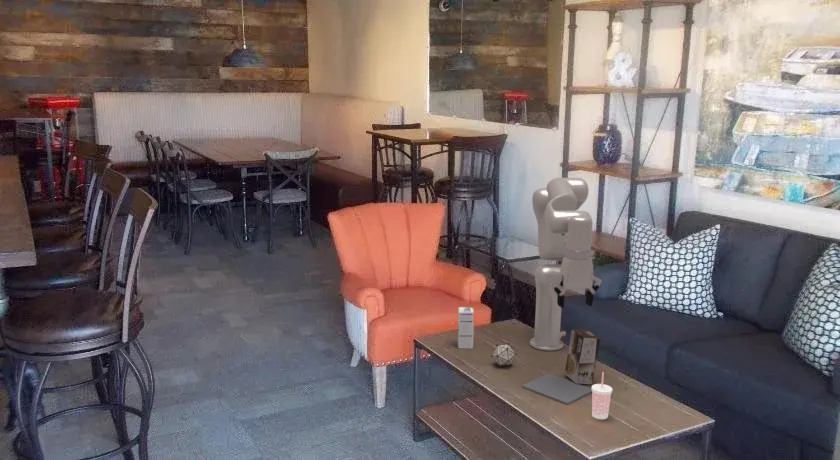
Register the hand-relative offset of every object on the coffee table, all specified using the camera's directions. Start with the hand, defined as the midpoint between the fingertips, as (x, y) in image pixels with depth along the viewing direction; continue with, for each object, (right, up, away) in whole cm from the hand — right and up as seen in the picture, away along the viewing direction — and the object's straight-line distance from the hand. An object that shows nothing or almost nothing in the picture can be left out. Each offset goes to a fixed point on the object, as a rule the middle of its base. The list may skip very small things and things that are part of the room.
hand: (574, 305), depth 234 cm
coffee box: (+3, -26, +11) cm, 28 cm away
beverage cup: (+4, -32, -15) cm, 35 cm away
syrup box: (-33, -20, +41) cm, 56 cm away
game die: (-20, -24, +22) cm, 38 cm away
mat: (-5, -28, +3) cm, 28 cm away
